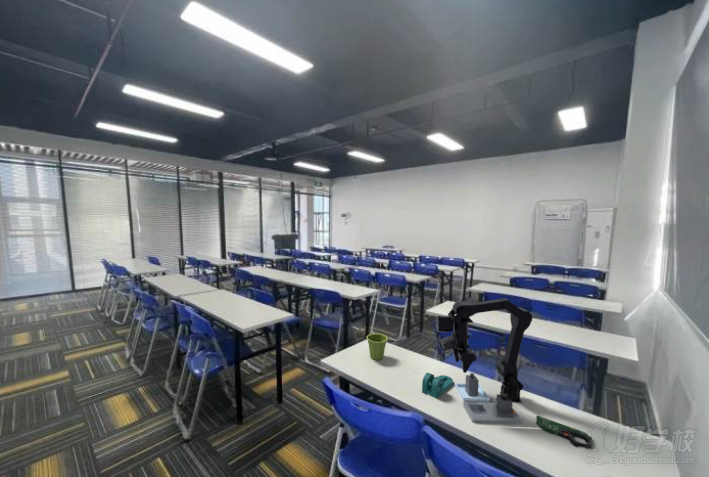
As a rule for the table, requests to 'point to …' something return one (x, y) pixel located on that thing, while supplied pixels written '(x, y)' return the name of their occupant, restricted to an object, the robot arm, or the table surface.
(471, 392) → the plug
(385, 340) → the plant pot
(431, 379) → the bracket
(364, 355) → the table surface
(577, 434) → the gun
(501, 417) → the grey socket base
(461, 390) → the tray
